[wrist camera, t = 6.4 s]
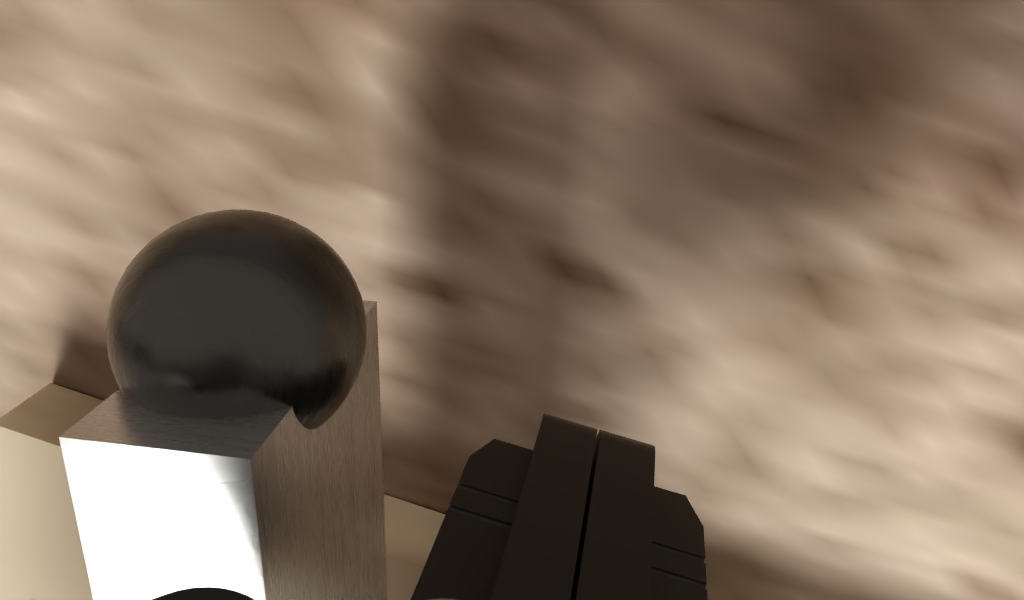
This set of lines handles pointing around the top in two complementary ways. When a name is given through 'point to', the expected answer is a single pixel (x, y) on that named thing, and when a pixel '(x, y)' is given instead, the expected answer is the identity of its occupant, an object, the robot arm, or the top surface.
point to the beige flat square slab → (53, 526)
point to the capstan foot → (235, 421)
